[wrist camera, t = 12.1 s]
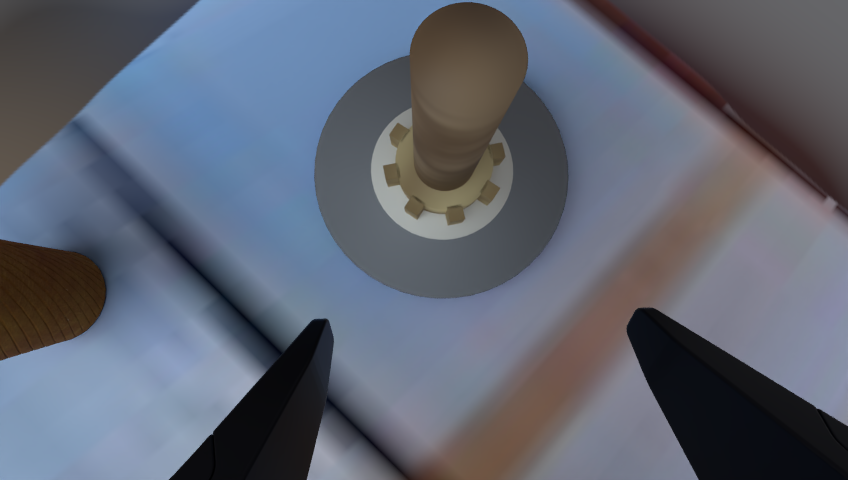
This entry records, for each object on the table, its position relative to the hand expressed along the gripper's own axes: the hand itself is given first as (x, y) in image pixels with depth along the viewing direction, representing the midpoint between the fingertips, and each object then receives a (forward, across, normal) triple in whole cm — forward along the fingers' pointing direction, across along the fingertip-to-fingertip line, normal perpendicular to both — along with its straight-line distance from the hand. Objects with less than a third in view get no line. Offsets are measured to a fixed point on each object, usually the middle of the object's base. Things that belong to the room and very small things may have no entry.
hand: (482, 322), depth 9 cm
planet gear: (+15, 0, +1) cm, 15 cm away
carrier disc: (+16, 0, +2) cm, 16 cm away
